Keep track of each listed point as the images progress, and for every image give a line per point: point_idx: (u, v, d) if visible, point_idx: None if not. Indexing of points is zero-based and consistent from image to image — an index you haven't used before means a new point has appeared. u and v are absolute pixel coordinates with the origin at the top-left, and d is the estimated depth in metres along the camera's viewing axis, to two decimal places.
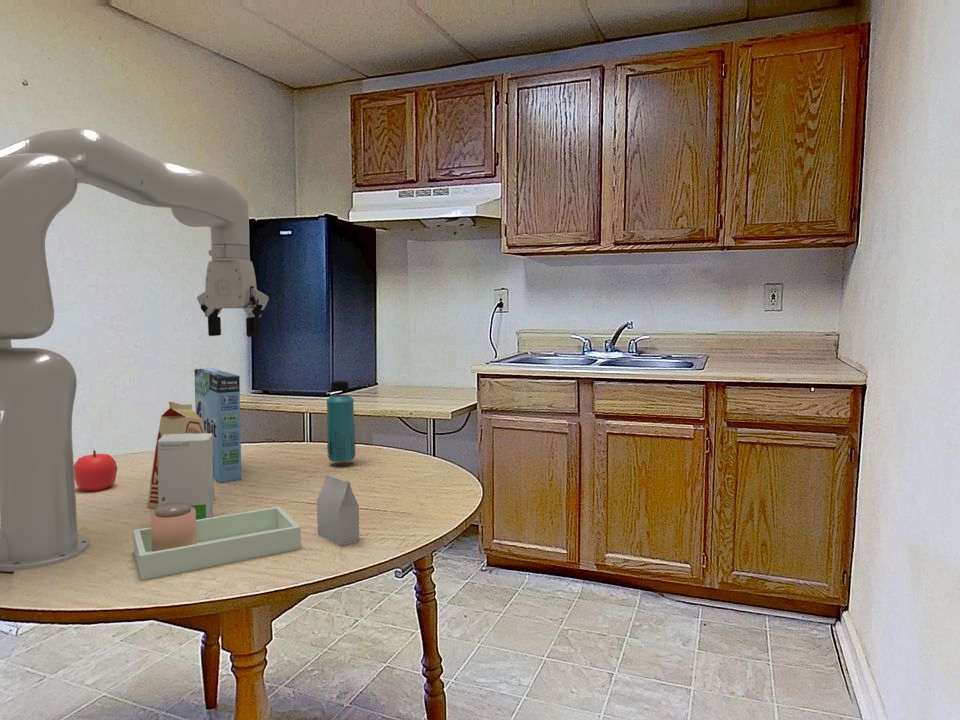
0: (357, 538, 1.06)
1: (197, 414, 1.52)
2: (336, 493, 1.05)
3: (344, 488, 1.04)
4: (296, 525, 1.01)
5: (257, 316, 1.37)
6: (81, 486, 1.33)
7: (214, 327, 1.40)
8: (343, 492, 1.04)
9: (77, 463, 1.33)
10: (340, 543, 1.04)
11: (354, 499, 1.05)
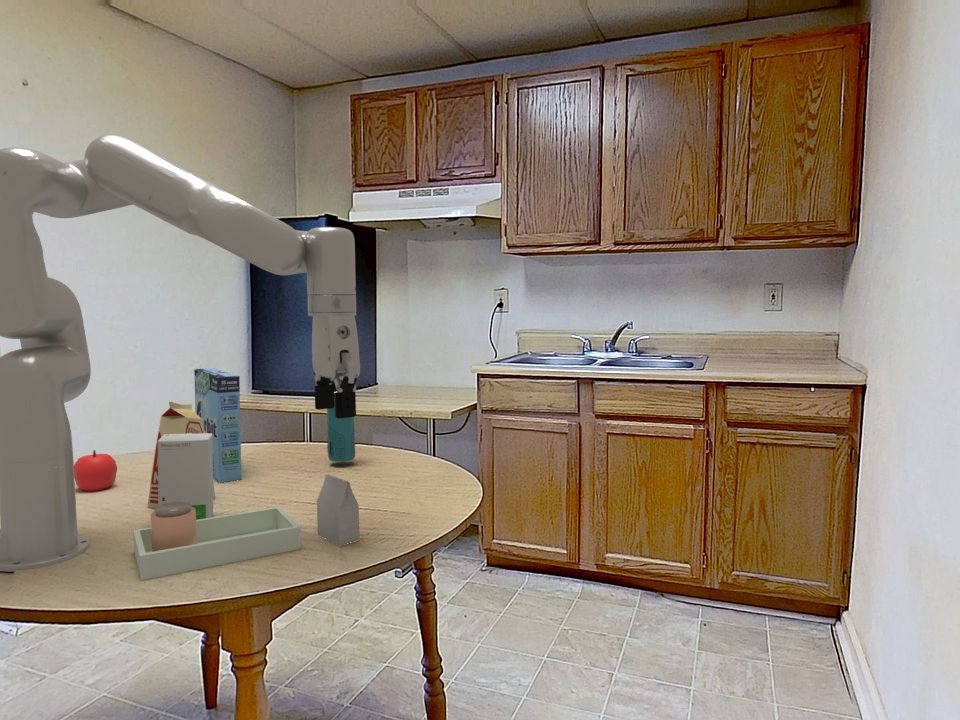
0: (357, 538, 1.06)
1: (197, 414, 1.52)
2: (336, 493, 1.05)
3: (344, 488, 1.04)
4: (296, 525, 1.01)
5: None
6: (81, 486, 1.33)
7: None
8: (343, 492, 1.04)
9: (77, 463, 1.33)
10: (340, 543, 1.04)
11: (354, 499, 1.05)
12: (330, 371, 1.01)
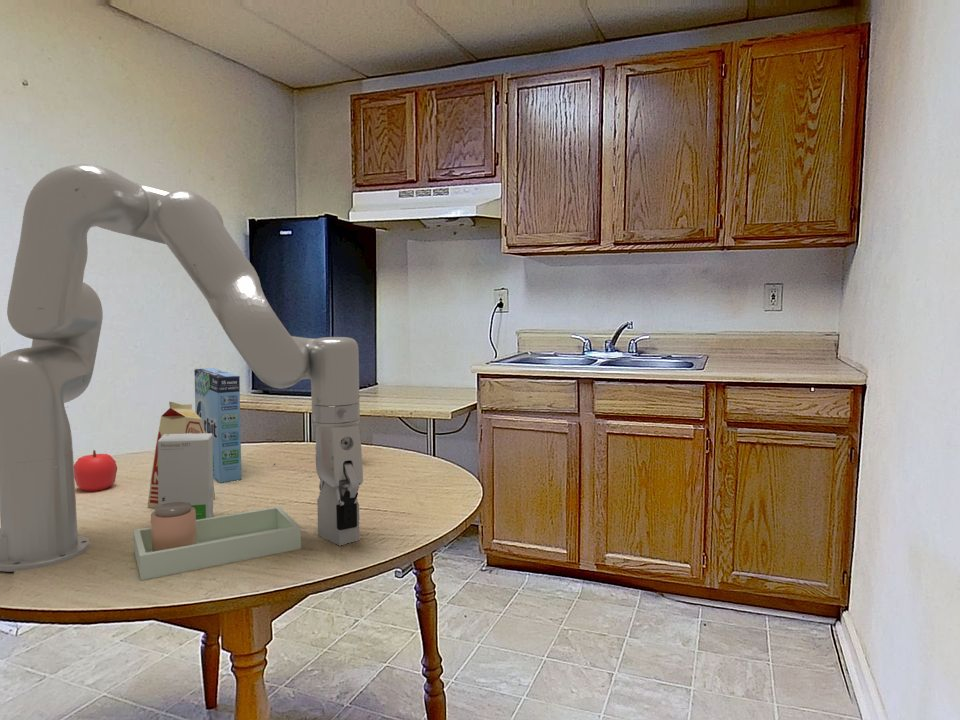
0: (357, 538, 1.06)
1: (197, 414, 1.52)
2: None
3: None
4: (296, 525, 1.01)
5: None
6: (81, 486, 1.33)
7: None
8: (343, 492, 1.04)
9: (77, 463, 1.33)
10: (340, 543, 1.04)
11: None
12: (333, 482, 1.02)
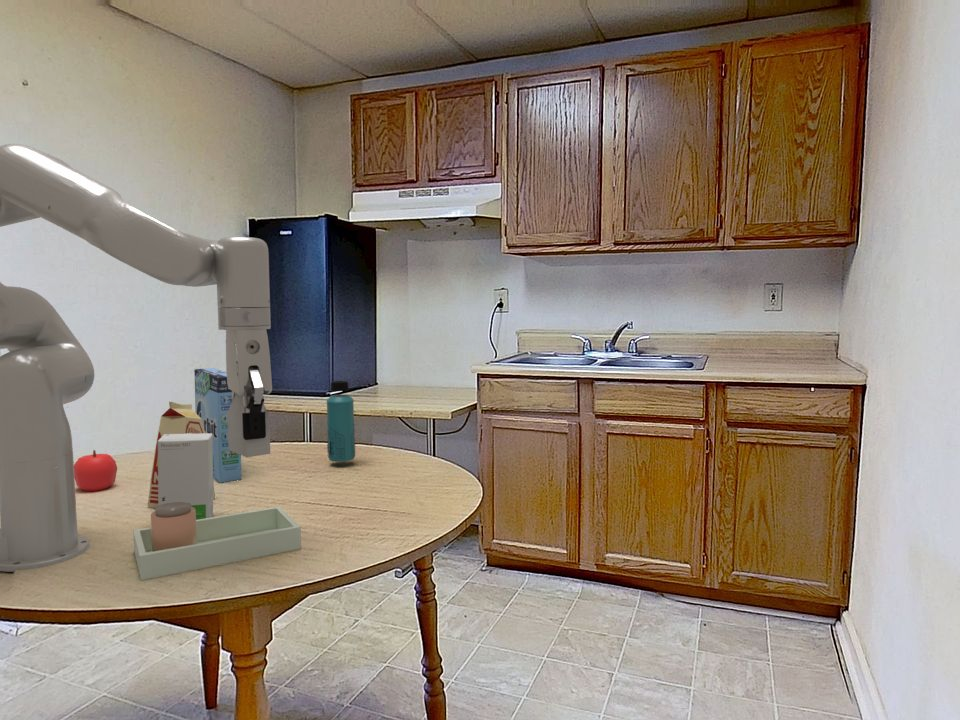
0: (268, 450, 1.00)
1: (197, 414, 1.52)
2: None
3: None
4: (296, 525, 1.01)
5: None
6: (81, 486, 1.33)
7: None
8: None
9: (77, 463, 1.33)
10: (248, 454, 0.98)
11: None
12: (238, 388, 0.96)
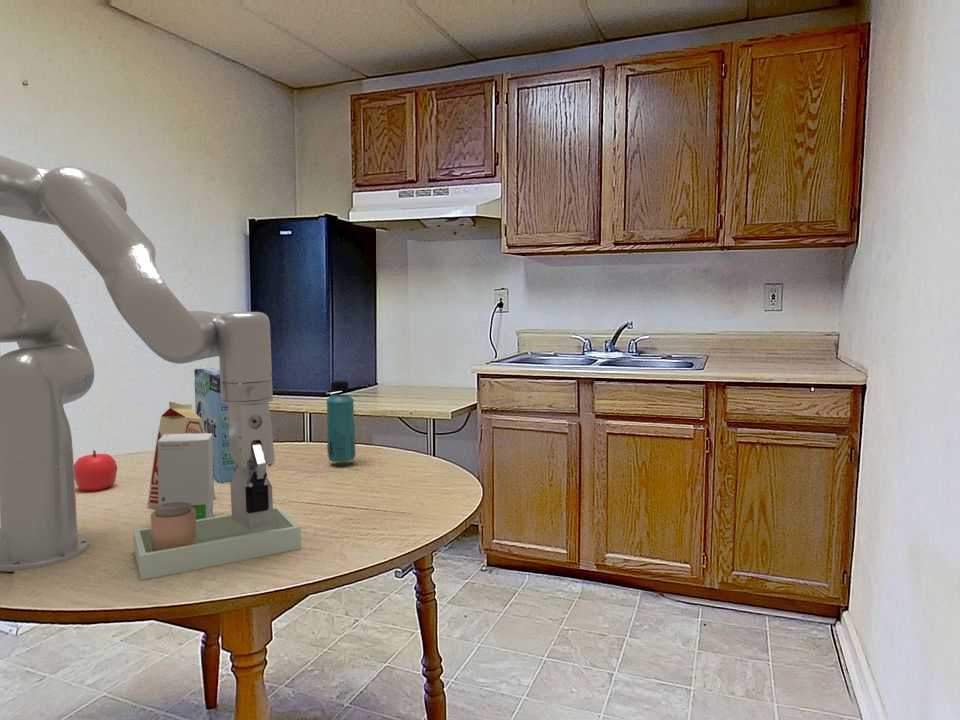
0: (271, 521, 1.01)
1: (197, 414, 1.52)
2: None
3: None
4: (296, 525, 1.01)
5: None
6: (81, 486, 1.33)
7: None
8: None
9: (77, 463, 1.33)
10: (251, 526, 0.99)
11: None
12: (241, 462, 0.97)
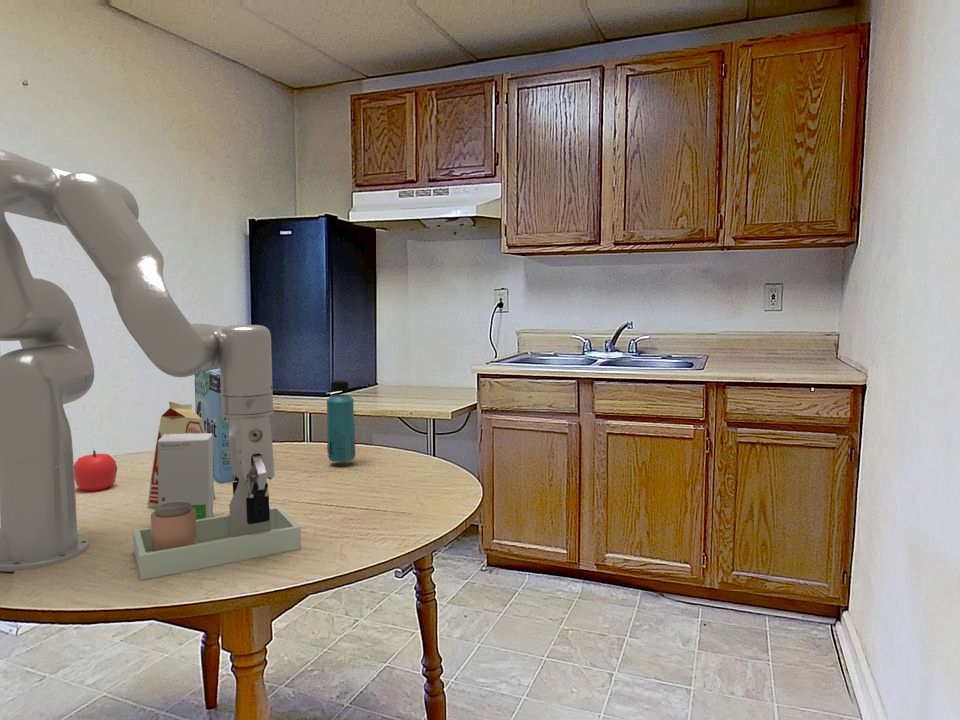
0: None
1: (197, 414, 1.52)
2: (247, 496, 1.01)
3: None
4: (296, 525, 1.01)
5: None
6: (81, 486, 1.33)
7: None
8: None
9: (77, 463, 1.33)
10: None
11: None
12: (241, 476, 0.97)
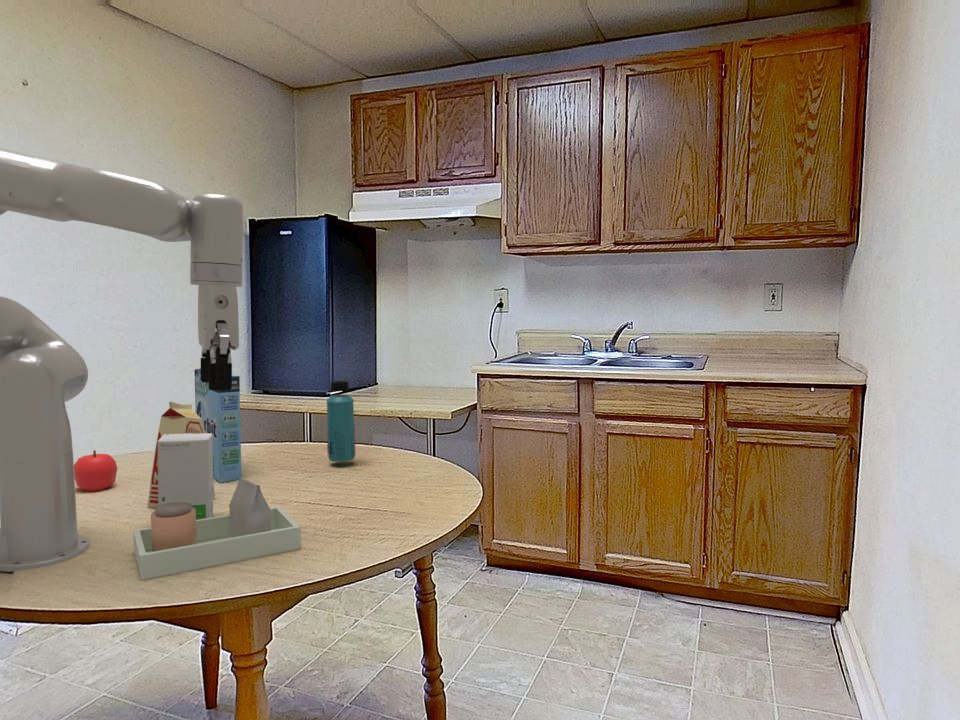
0: None
1: (197, 414, 1.52)
2: (247, 496, 1.01)
3: (254, 492, 1.00)
4: (296, 525, 1.01)
5: None
6: (81, 486, 1.33)
7: None
8: (253, 496, 1.00)
9: (77, 463, 1.33)
10: None
11: (265, 503, 1.01)
12: (205, 341, 0.98)
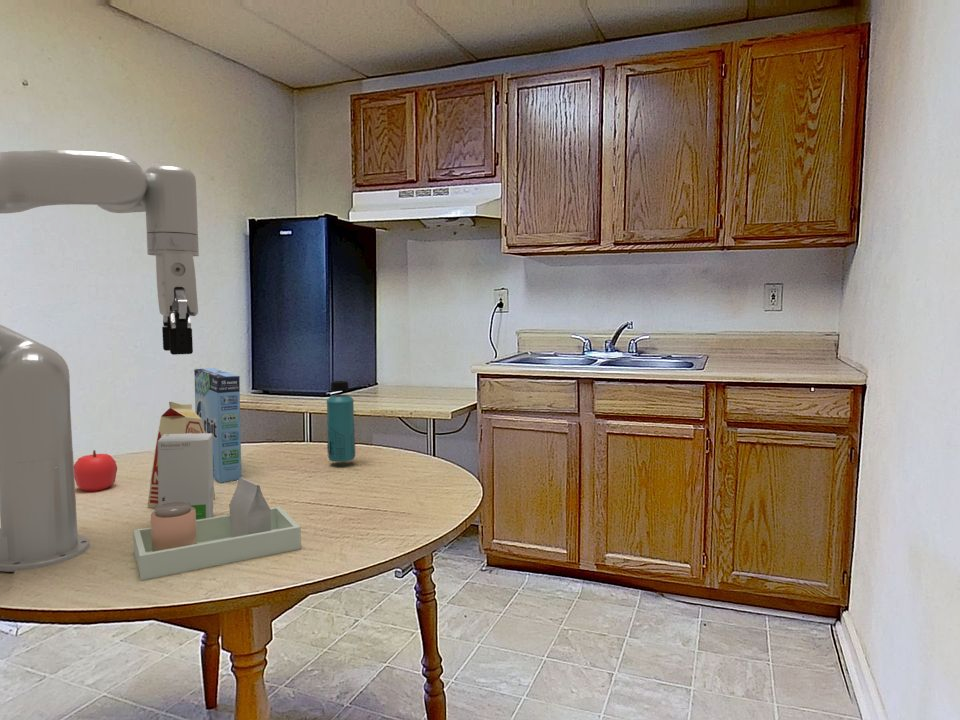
0: None
1: (197, 414, 1.52)
2: (247, 496, 1.01)
3: (254, 492, 1.00)
4: (296, 525, 1.01)
5: None
6: (81, 486, 1.33)
7: None
8: (253, 496, 1.00)
9: (77, 463, 1.33)
10: None
11: (265, 503, 1.01)
12: (165, 307, 1.02)
